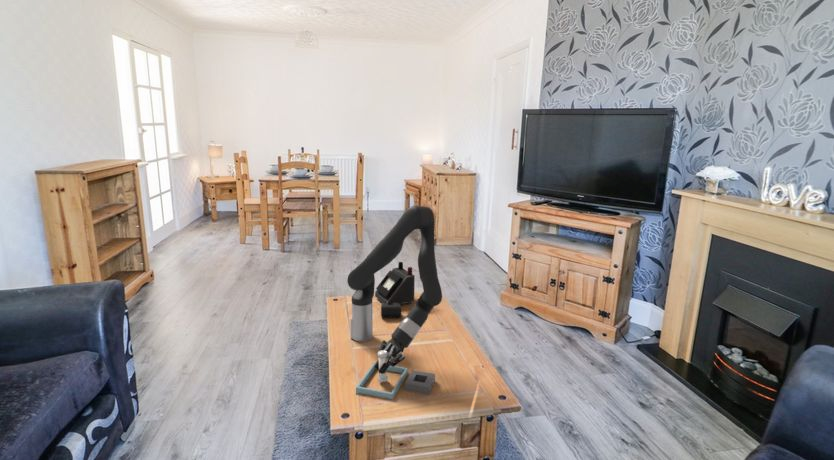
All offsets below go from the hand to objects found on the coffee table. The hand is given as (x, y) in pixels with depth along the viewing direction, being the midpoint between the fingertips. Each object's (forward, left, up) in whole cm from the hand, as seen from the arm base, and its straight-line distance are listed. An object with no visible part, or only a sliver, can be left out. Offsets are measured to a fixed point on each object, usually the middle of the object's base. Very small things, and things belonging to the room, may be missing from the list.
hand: (378, 370), depth 165 cm
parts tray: (+1, +2, -7) cm, 7 cm away
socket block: (+15, +4, -7) cm, 17 cm away
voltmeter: (-21, +80, -7) cm, 82 cm away
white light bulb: (+1, +2, -4) cm, 5 cm away
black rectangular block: (-16, +60, -7) cm, 62 cm away
